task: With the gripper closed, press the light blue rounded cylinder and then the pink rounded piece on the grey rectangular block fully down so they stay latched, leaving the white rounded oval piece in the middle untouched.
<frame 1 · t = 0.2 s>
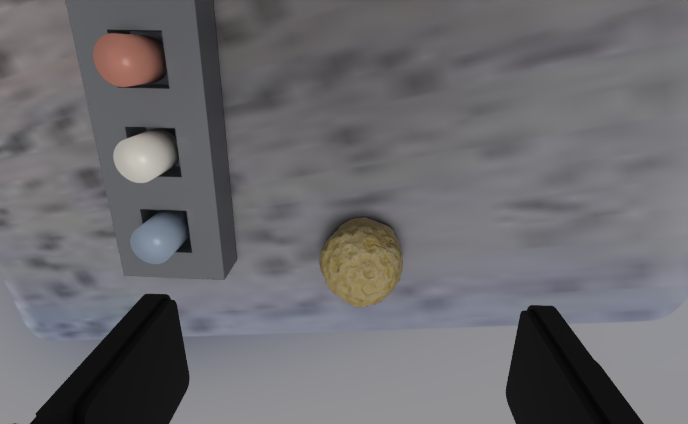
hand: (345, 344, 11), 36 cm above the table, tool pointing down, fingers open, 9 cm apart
white rounded oval piece: (149, 154, 41), point 6 cm above the table, slide at 0.0 cm
rock: (362, 249, 51), on the table
light blue rounded cylinder: (162, 235, 44), point 6 cm above the table, slide at 0.0 cm
pink rounded piece: (133, 60, 38), point 6 cm above the table, slide at 0.0 cm
grey rectangular block: (174, 142, 47), on the table
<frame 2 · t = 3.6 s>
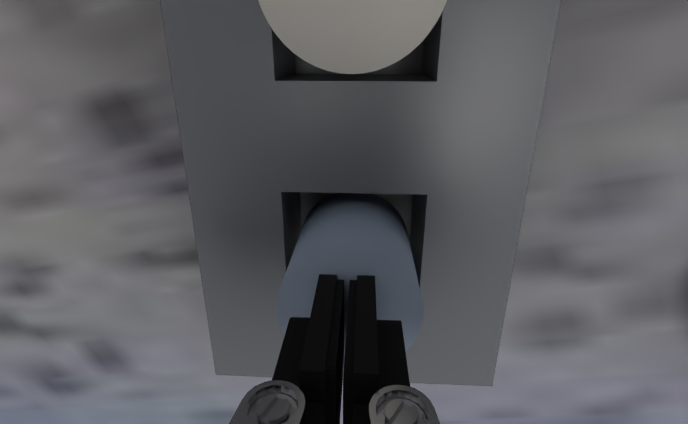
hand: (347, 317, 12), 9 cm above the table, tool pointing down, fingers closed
light blue rounded cylinder: (352, 271, 14), point 6 cm above the table, slide at 0.0 cm, touching gripper
grey rectangular block: (359, 6, 17), on the table
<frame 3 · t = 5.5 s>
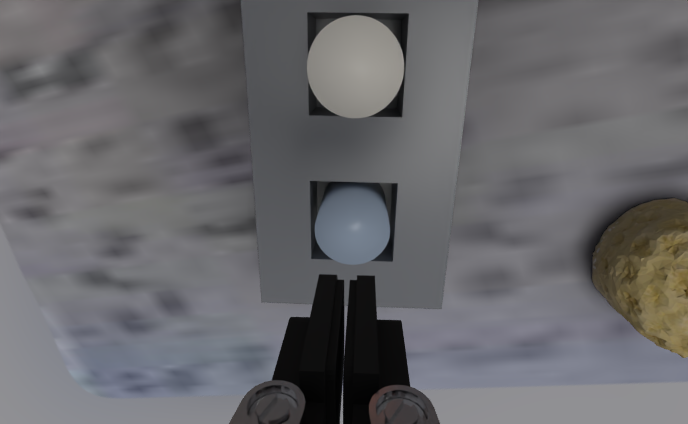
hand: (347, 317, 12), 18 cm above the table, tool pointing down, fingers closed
white rounded oval piece: (356, 67, 21), point 6 cm above the table, slide at 0.0 cm
rock: (646, 253, 30), on the table
light blue rounded cylinder: (353, 215, 26), point 4 cm above the table, slide at 2.2 cm
grey rectangular block: (357, 64, 26), on the table
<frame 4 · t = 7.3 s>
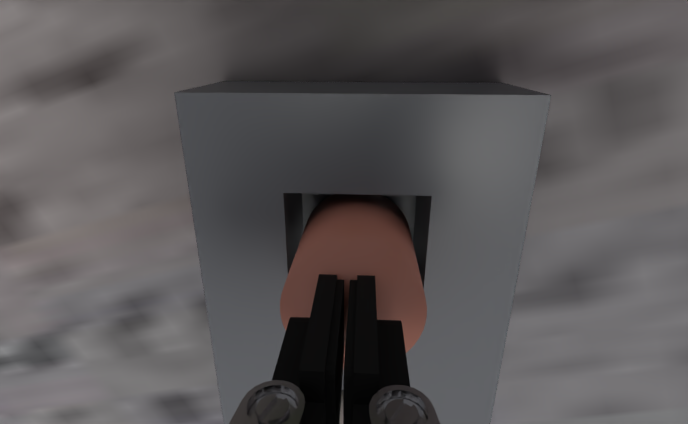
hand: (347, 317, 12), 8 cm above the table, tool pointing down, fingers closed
pink rounded piece: (355, 270, 14), point 6 cm above the table, slide at 0.2 cm, touching gripper
grey rectangular block: (356, 357, 23), on the table
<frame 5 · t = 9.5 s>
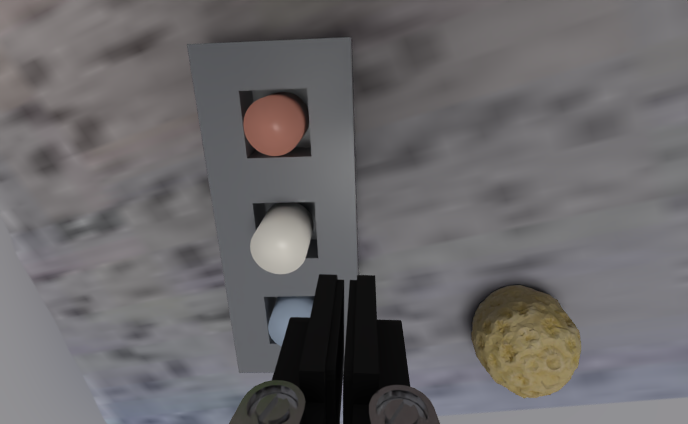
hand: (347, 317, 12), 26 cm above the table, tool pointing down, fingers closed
white rounded oval piece: (284, 236, 34), point 6 cm above the table, slide at 0.0 cm
rock: (510, 320, 43), on the table
light blue rounded cylinder: (296, 313, 39), point 4 cm above the table, slide at 2.2 cm
pink rounded piece: (278, 122, 33), point 4 cm above the table, slide at 2.2 cm
grey rectangular block: (294, 211, 39), on the table
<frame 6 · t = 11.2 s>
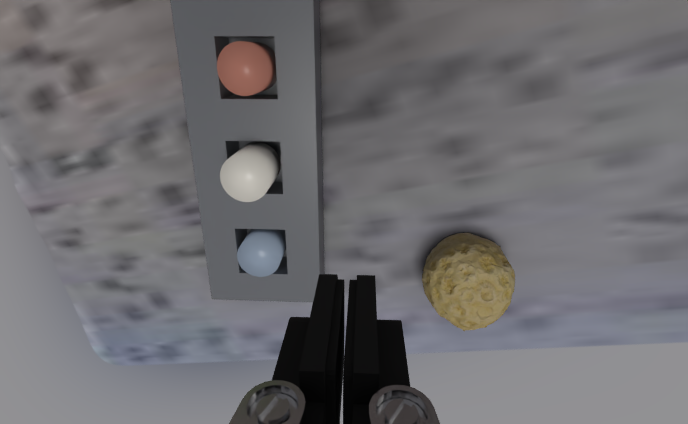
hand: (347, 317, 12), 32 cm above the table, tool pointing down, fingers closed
white rounded oval piece: (252, 170, 38), point 6 cm above the table, slide at 0.0 cm
rock: (460, 266, 48), on the table
light blue rounded cylinder: (264, 246, 43), point 4 cm above the table, slide at 2.2 cm
pink rounded piece: (250, 68, 37), point 4 cm above the table, slide at 2.2 cm
grey rectangular block: (266, 155, 44), on the table
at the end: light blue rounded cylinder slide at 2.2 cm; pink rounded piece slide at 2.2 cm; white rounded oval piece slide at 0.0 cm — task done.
